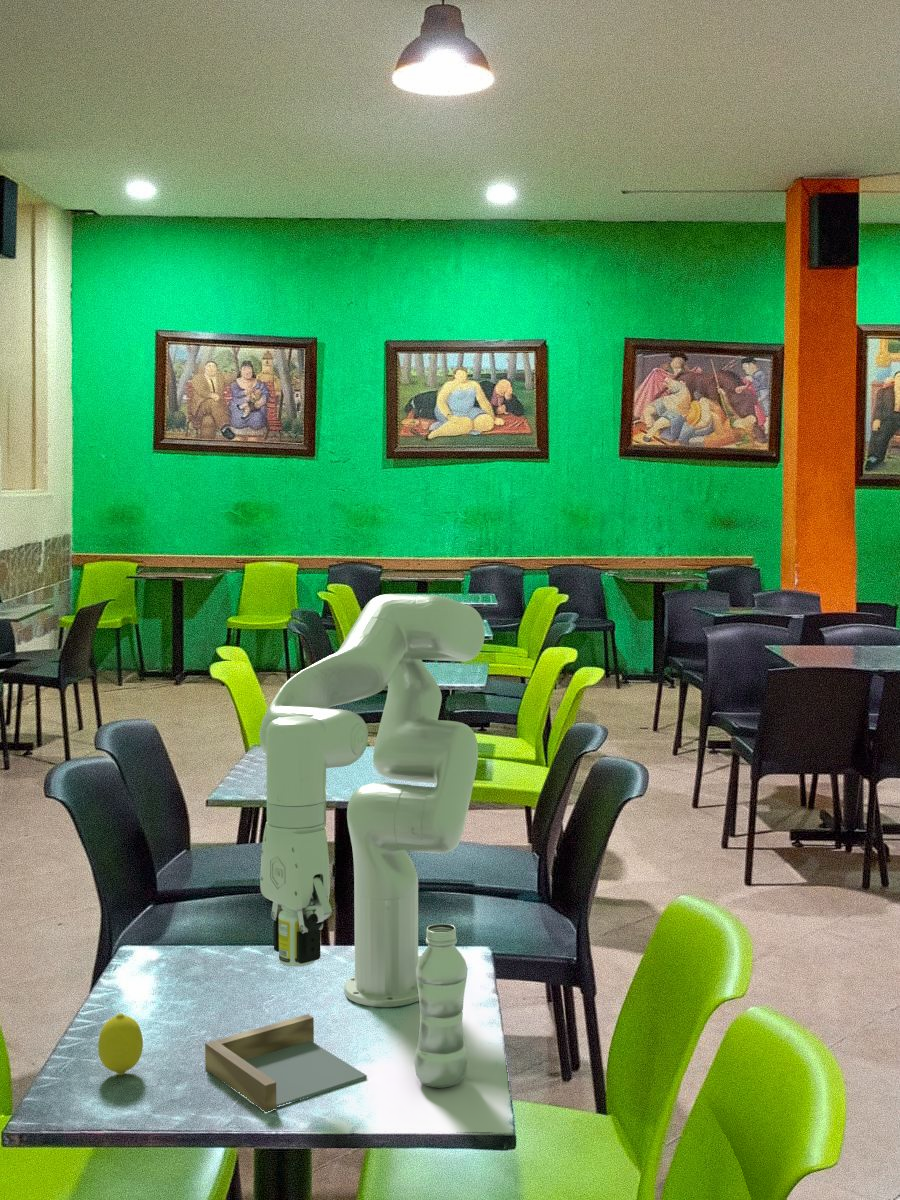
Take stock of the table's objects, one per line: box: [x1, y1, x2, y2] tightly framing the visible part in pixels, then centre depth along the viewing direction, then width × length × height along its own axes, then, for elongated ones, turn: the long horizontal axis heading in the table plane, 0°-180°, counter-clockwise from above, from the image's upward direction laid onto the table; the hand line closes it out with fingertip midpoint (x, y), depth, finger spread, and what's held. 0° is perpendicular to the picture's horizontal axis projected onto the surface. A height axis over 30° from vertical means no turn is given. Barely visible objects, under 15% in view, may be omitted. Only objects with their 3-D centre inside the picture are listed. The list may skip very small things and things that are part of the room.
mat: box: [245, 1041, 368, 1106], centre depth 166 cm, size 14×14×1 cm
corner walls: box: [204, 1014, 315, 1112], centre depth 166 cm, size 16×16×4 cm
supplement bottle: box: [278, 900, 316, 968], centre depth 165 cm, size 5×5×8 cm
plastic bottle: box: [414, 923, 468, 1089], centre depth 163 cm, size 6×7×20 cm
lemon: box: [97, 1013, 144, 1076], centre depth 166 cm, size 6×6×8 cm
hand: (296, 953), depth 166 cm, fingers closed on supplement bottle, 4 cm apart
